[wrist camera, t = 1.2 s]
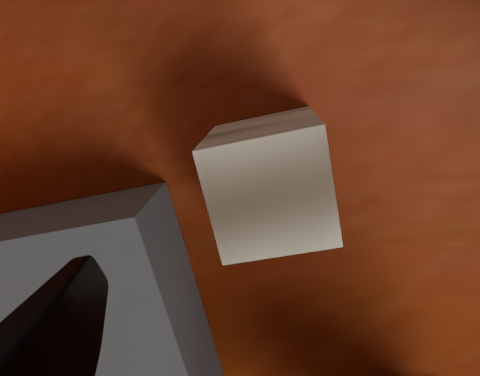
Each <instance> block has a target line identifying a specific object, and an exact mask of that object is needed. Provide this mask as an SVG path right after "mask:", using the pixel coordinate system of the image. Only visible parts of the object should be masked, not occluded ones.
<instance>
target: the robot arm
mask: <svg viewBox="0 0 480 376" xmlns="http://www.w3.org/2000/svg"><path fill="white" fill-rule="evenodd" d="M107 297H108V280H107V278H106V276H105V274H104V273H103V271H102V269H101V268H100V266H99V265H98V263H97V261H96V260H95V258H94V257H92V256H91V255H86V256H80V257H76V258H73V259H71V260H70V261H69V262H68V263H67V264H66V265H65V266H63V267H62V268H61V269H60V270H59V271H58V272H57V273H55V274H54V275H53V276H52V277H51V278H50V279H49V280H48V281H46V282H45V283H44V284H43V285H42V286H41V287H40V288H38V289H37V290H36V291H35V292H34V293H33V294H32V295H31V296H29V297H28V298H27V299H26V300H25V301H24V302H23V303H21V304H20V305H19V306H18V307H17V308H16V309H15V310H14V311H12V312H11V313H10V314H9V315H8V316H7V317H6V318H4V319H3V320H2V321H1V322H0V376H95V373H96V369H97V365H98V360H99V356H100V351H101V345H102V338H103V330H104V321H105V313H106V305H107Z"/></svg>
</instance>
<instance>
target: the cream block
mask: <svg viewBox="0 0 480 376" xmlns="http://www.w3.org/2000/svg"><path fill="white" fill-rule="evenodd" d="M192 154H193V158H194V161H195V165H196V169H197V173H198V176H199V180H200V184H201V187H202V191H203V195H204V199H205V202H206V206H207V210H208V214H209V217H210V221H211V225H212V228H213V232H214V236H215V240H216V243H217V247H218V251H219V254H220V258H221V262H222V266H223V265H229V264H236V263H242V262H249V261H255V260H262V259H268V258H275V257H282V256H288V255H295V254H301V253H308V252H314V251H321V250H327V249H334V248H340V247H343V242H342V235H341V229H340V222H339V215H338V208H337V201H336V195H335V188H334V181H333V174H332V168H331V161H330V154H329V147H328V140H327V134H326V127H325V124H324V122H323V121H322V120H321V119H320V118H319V117H318V116H317V115H316V114H315V113H314V111H313V110H312V109H311V108H310V107H309V106H306V107H302V108H297V109H292V110H287V111H283V112H278V113H273V114H269V115H264V116H259V117H255V118H250V119H245V120H241V121H236V122H231V123H226V124H222V125H217V126H214V128H213V129H212V130H211V131H210V132H209V133H208V134H207V135H206V136H205V137H204V139H203V140H202V141H201V142H200V143H199V144H198V145H197V146H196V147H195V149H194V150H193V151H192Z"/></svg>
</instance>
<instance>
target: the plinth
mask: <svg viewBox="0 0 480 376" xmlns="http://www.w3.org/2000/svg"><path fill="white" fill-rule="evenodd" d="M86 255H91V256H92V257H94V258H95V260H96V261H97V263H98V265H99V266H100V268H101V269H102V271H103V273H104V274H105V276H106V278H107V280H108V297H107V305H106V313H105V321H104V330H103V338H102V345H101V351H100V356H99V360H98V365H97V369H96V373H95V376H222V375H223V371H222V367H221V364H220V360H219V357H218V354H217V350H216V347H215V344H214V340H213V337H212V334H211V330H210V327H209V324H208V320H207V317H206V314H205V310H204V307H203V304H202V300H201V297H200V294H199V290H198V287H197V284H196V280H195V277H194V274H193V270H192V267H191V264H190V260H189V257H188V253H187V250H186V247H185V243H184V240H183V237H182V233H181V230H180V227H179V223H178V220H177V217H176V213H175V210H174V207H173V203H172V200H171V197H170V193H169V190H168V187H167V183H166V182H162V183H157V184H152V185H147V186H142V187H137V188H131V189H126V190H121V191H116V192H111V193H106V194H100V195H95V196H90V197H85V198H80V199H75V200H69V201H64V202H59V203H54V204H49V205H44V206H38V207H33V208H28V209H23V210H18V211H13V212H7V213H2V214H0V322H1V321H2V320H3V319H4V318H6V317H7V316H8V315H9V314H10V313H11V312H12V311H14V310H15V309H16V308H17V307H18V306H19V305H20V304H21V303H23V302H24V301H25V300H26V299H27V298H28V297H29V296H31V295H32V294H33V293H34V292H35V291H36V290H37V289H38V288H40V287H41V286H42V285H43V284H44V283H45V282H46V281H48V280H49V279H50V278H51V277H52V276H53V275H54V274H55V273H57V272H58V271H59V270H60V269H61V268H62V267H63V266H65V265H66V264H67V263H68V262H69V261H70V260H71V259H73V258H76V257H80V256H86Z"/></svg>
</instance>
